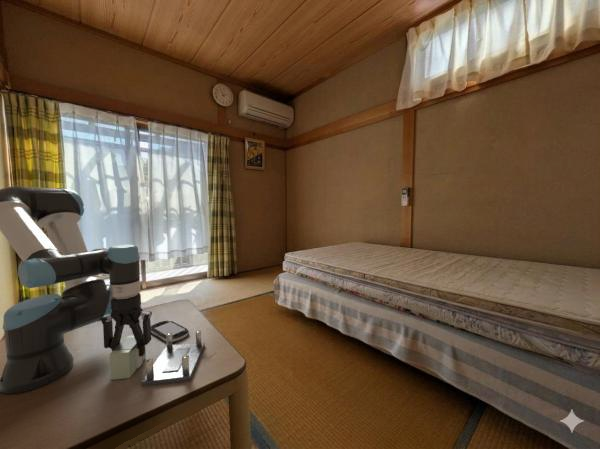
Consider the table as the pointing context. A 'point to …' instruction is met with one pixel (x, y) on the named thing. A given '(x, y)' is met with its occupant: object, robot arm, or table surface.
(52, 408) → the table surface
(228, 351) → the table surface
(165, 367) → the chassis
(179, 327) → the gaming console
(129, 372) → the pale green block
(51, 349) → the robot arm
